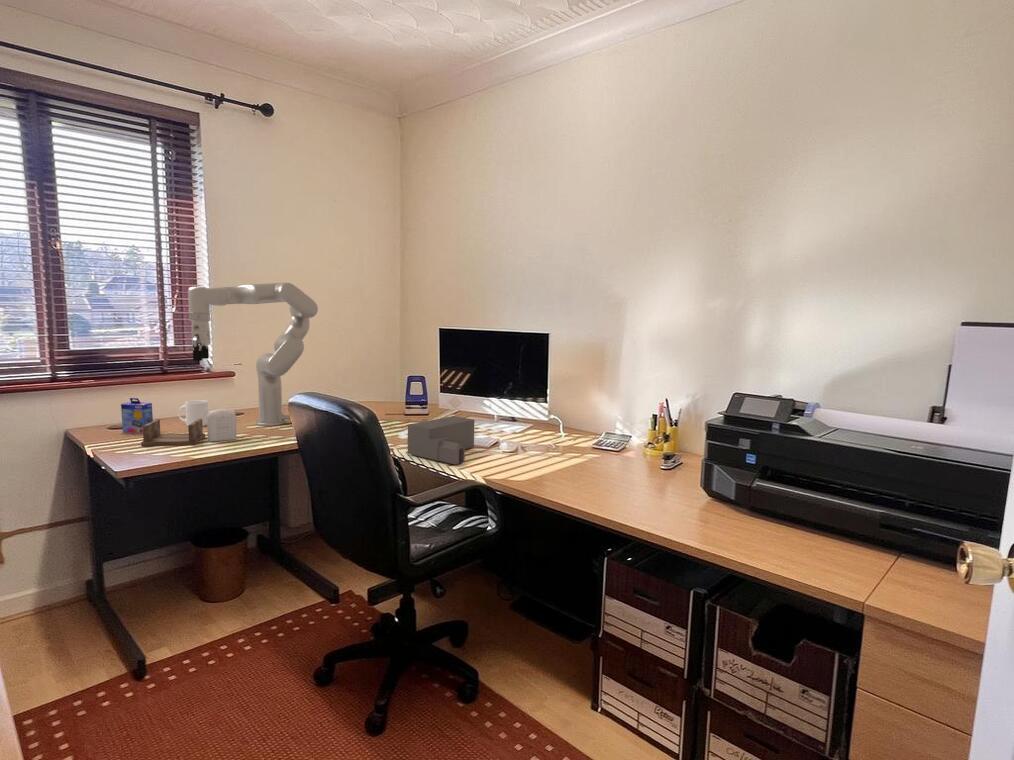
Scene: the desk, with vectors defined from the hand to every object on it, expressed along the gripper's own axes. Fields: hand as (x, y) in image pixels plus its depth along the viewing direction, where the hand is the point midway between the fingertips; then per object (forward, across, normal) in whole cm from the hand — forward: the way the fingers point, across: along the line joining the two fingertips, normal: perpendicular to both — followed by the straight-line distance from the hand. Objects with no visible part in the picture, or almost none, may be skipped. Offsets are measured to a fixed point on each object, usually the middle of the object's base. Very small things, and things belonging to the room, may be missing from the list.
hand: (201, 359), depth 235 cm
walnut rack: (+30, -17, +6) cm, 35 cm away
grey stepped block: (+31, -48, -98) cm, 113 cm away
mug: (+31, +14, +8) cm, 35 cm away
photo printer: (+31, -17, -11) cm, 37 cm away
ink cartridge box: (+31, +2, +25) cm, 39 cm away
